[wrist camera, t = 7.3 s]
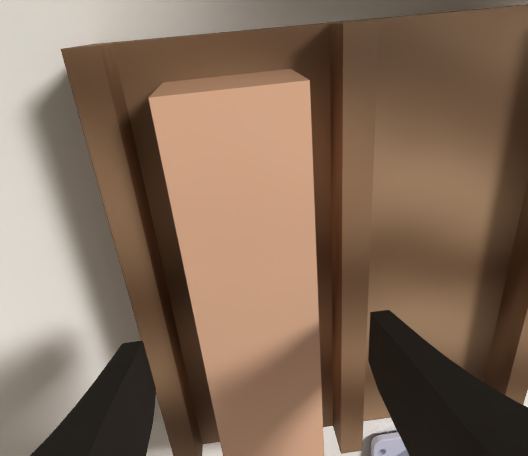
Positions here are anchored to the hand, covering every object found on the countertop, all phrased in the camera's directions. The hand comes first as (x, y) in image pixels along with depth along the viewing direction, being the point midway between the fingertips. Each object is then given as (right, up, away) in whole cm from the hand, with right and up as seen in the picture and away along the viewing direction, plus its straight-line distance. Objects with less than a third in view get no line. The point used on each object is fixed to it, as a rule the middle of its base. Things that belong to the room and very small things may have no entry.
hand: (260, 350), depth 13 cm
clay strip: (0, +2, +3) cm, 4 cm away
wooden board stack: (+3, +3, +5) cm, 6 cm away
